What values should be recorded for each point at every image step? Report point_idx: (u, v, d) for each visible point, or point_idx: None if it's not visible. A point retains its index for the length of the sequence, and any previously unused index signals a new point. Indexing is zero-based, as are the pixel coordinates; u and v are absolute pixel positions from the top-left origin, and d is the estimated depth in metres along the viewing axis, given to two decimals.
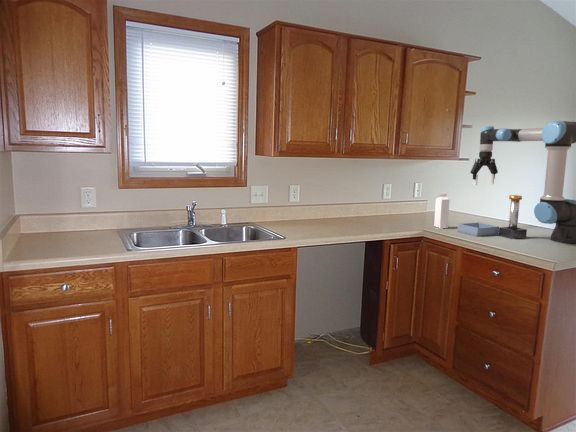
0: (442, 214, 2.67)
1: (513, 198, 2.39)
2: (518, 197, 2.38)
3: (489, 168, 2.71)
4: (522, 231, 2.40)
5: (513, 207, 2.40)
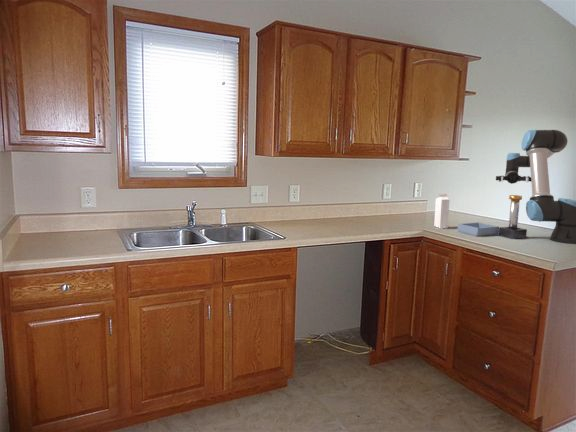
0: (442, 214, 2.67)
1: (513, 198, 2.39)
2: (518, 197, 2.38)
3: (521, 179, 2.63)
4: (522, 231, 2.40)
5: (513, 207, 2.40)
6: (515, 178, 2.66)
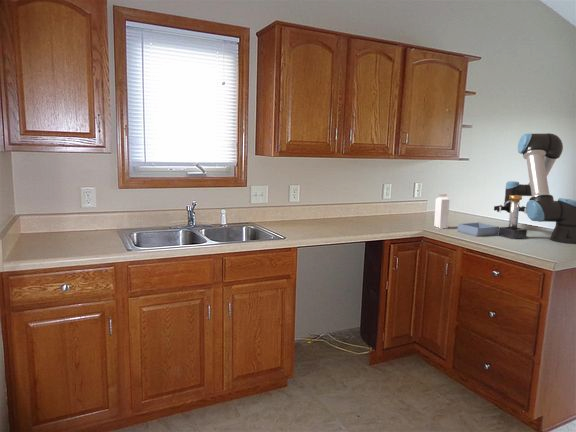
0: (442, 214, 2.67)
1: (513, 198, 2.39)
2: (518, 197, 2.38)
3: (520, 209, 2.58)
4: (522, 231, 2.40)
5: (513, 207, 2.40)
6: None
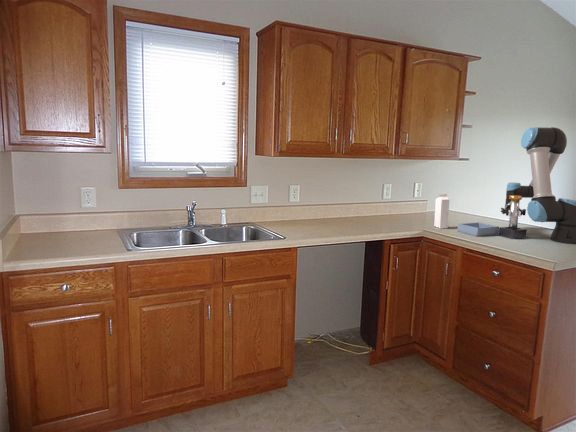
0: (442, 214, 2.67)
1: (513, 198, 2.39)
2: (518, 197, 2.38)
3: None
4: (522, 231, 2.40)
5: (513, 207, 2.40)
6: None
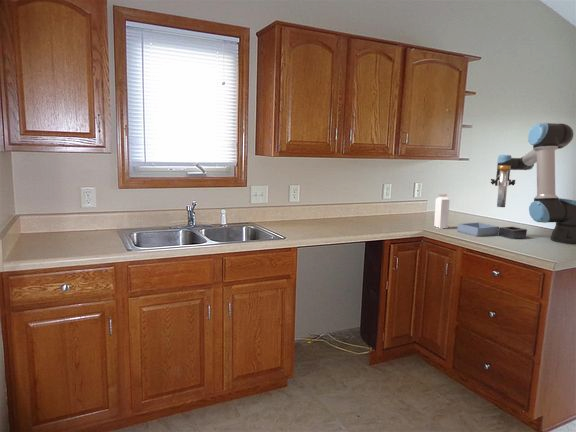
0: (442, 214, 2.67)
1: (502, 168, 2.41)
2: (507, 167, 2.40)
3: None
4: (522, 231, 2.40)
5: (502, 177, 2.42)
6: None
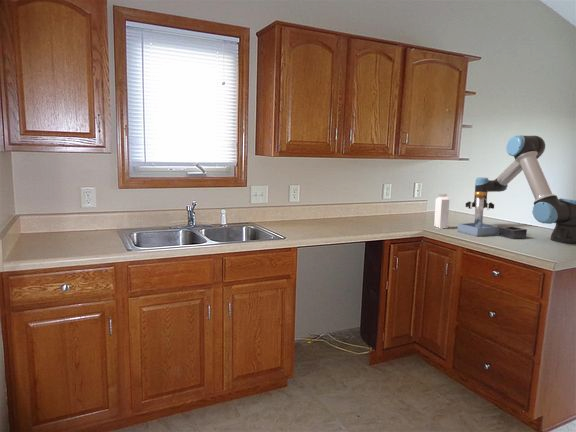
0: (442, 214, 2.67)
1: (478, 194, 2.48)
2: (482, 193, 2.47)
3: (485, 206, 2.56)
4: (522, 231, 2.40)
5: (478, 203, 2.50)
6: None
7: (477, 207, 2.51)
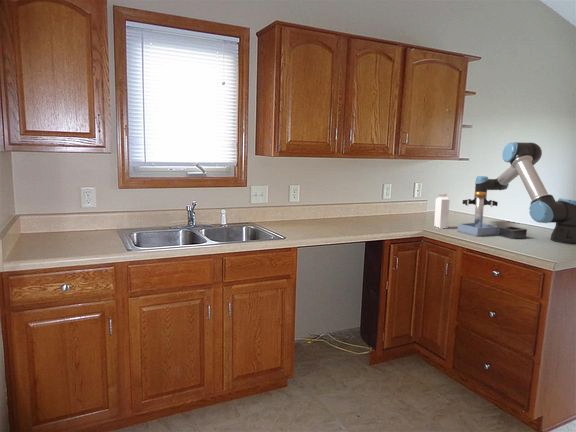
0: (442, 214, 2.67)
1: (478, 194, 2.49)
2: (482, 193, 2.48)
3: (487, 203, 2.68)
4: (522, 231, 2.40)
5: (478, 203, 2.50)
6: None
7: (477, 207, 2.51)
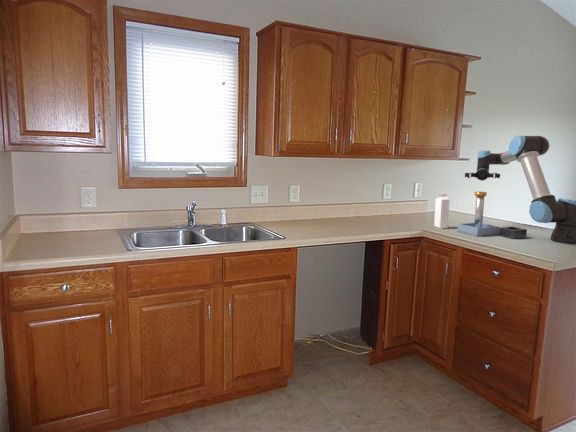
0: (442, 214, 2.67)
1: (478, 194, 2.49)
2: (483, 193, 2.48)
3: (489, 176, 2.66)
4: (522, 231, 2.40)
5: (478, 203, 2.50)
6: (484, 175, 2.69)
7: (477, 207, 2.51)
